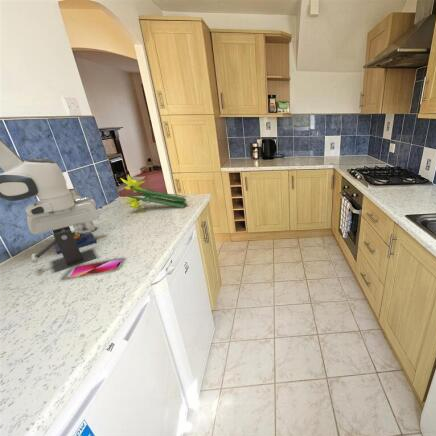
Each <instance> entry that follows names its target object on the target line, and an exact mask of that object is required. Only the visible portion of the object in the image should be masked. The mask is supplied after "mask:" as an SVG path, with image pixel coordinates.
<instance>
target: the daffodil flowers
mask: <svg viewBox="0 0 436 436" xmlns="http://www.w3.org/2000/svg"><path fill="white" fill-rule="evenodd" d="M126 178H127V180H126V179H124V178H122V177H120V178H119V179H120V180H121V181H122V182H123V183H124V184H125V185H126V186H125V188H124V189H125V190H132V191H133V193H131V194H124V196H125V197H123V199H125V200H128V201H126V202H124V205H129V207H130V209H131V208H132V209H139V206H140V207H141V208H143V205H146V204H148V203H154V204H159V205H164V206H170V207H175V208H181V209H185V206H186V201H187V199H186V198H187V196H186V195H181V194H173V193H168V192H167V193H166V192H160V191H156V190H153V189H151V188H149V187H147V186H146V185H145V184H143V183H145V182H146V180H141V181H137V180H136V179H132V177H131V176H130V175H129V174H127V177H126ZM141 185H142V187H140V186H141ZM134 194H138V195H141V196H142V197H140V196H134ZM141 204H142V205H141Z"/></svg>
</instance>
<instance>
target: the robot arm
mask: <svg viewBox="0 0 436 436" xmlns="http://www.w3.org/2000/svg"><path fill="white" fill-rule="evenodd" d="M0 169H1V170H2V171H3V172H1V173H0V199H2V200H5V201H9V202H18V201H23V200H26V199H30V198H32V197H36V198H37V199H38V201H36V202H34V203H32V204H29V205H28V206H26V207H25V213H26V214H27V216H26V223H27V227H28V229H29V230H28V231H29V232H30V233H31V234H32V235H35V236H36V235H41V234H44V233H49V232H52V230H55V229H59V228H63V227H67V226H69V227H72V228H73V230H71V232H72V234H73V236H77V235H78V234H77V233H78V232H77V229H78V225H77V224H80V223H84V222H88V221H92V222H93V221H96V220H99V218H100V213H99V211H98V209H97V207H96V206H97V203H96V201H95V199H94V198H92V197H89V196H88V197H82V199H76V200H74V199H73V197H72V195H71V192H70V191H69V190H68V189H69V188H68V186H67V180H66V177H65V175H64V174H63V172H62V170H61V168H60V166H59V164H57V162H55V161H54V160H52V159H47V158H28V159H26V160H24V159H22V158H21V157H20V155H18V154H17V153H16V152H15V151H14V150H13V149H12V148H11V147H9V146H8V145H7V144H6V143H5V142H4V140H2V139H1V138H0Z"/></svg>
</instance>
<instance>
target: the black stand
mask: <svg viewBox="0 0 436 436" xmlns="http://www.w3.org/2000/svg"><path fill="white" fill-rule="evenodd" d="M63 229H64V230H66V231H62V232H60V231H61V230H63ZM71 231H72V230H71V226H67V227H63V228H59V229H55V230H52V231H51V232H52V235H53V238H54V240H56V242H57V244H58V246H59V248H60V250H61V252H62V253H61V254H62V256H63V257H62V258H59V259H56V260H53V261H52V264H53V268H54V272H55V273H58V272H61V271H63V270H66V269H69V268H72V267H76V266H79V265H81V264H85V263H87V262H90V261H93V260H96V259H97V257H96V255H95V253H94V251H93V249H91V248H90V249H88V250H84V251H81V250H80V248H78V246H77V243H76V241H75V239H74V236H73V234H72V232H71Z"/></svg>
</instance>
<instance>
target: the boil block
mask: <svg viewBox="0 0 436 436" xmlns="http://www.w3.org/2000/svg"><path fill="white" fill-rule="evenodd" d="M77 234H80V236H81V237H79V238H77V239H75V241H76V243H77V246H78V248H79V249H81V248H83V247H88V246H90V245H93V244H94V245H95V244H97V242H98V241H97V239H96V238H95V236H94V234H93V233H92V232H89V233H78V232H77ZM54 249H55V252H56V255H60V254H62V252H61V250H60V248H59V246H58V244H57V243H56V244H55V245H54Z"/></svg>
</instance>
